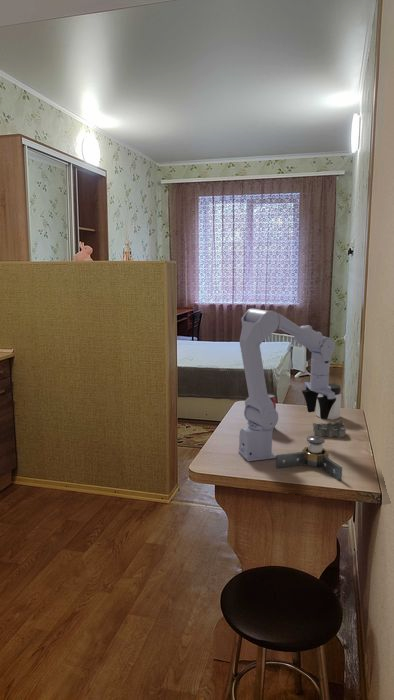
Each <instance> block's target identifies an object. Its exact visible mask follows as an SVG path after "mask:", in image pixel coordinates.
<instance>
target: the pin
mask: <svg viewBox="0 0 394 700" xmlns="http://www.w3.org/2000/svg"><path fill="white" fill-rule="evenodd" d="M306 441H307V442H308V443H307V444H308V446H307V447H308V453H310V454H316V455H320V454H322V448H324V447H323V444H324V443H325V442H326V441H325V438H324V437H323V436H318V435H308V436H307V437H306Z"/></svg>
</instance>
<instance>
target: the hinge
mask: <svg viewBox="0 0 394 700" xmlns="http://www.w3.org/2000/svg"><path fill="white" fill-rule="evenodd" d="M275 455H276V458H275V468H276V469H283V468H290V467H299V466H307V467H310V468H316V469H319V468H320V469H322V470H323V471H324V472H326V473H327V474H329V475H330V476H331V477H333V478H334V479H335V480H337V481H342V478H343V467H342V466H341V465H339V464H338V463H337V462H335V461H333V460H332V459H330V458H329V455H330V451H329V450H327V449H326V448H324V447H322V454H320V455H316V454H310V453H308V446H306V447H303V448H302V450H301V451H299V452H290V453H282V454H281V453H280V454H275Z"/></svg>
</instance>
